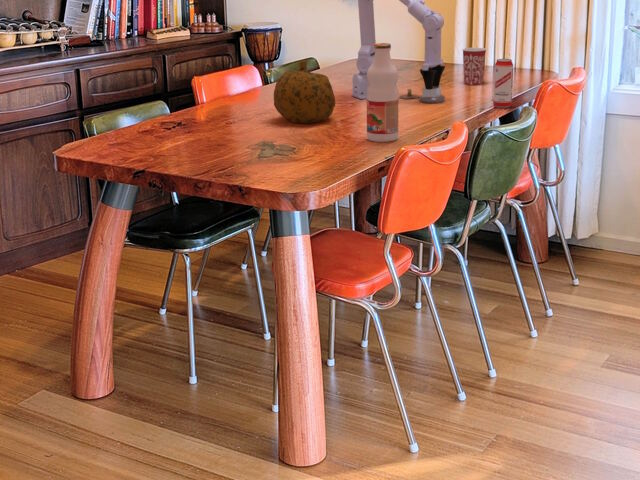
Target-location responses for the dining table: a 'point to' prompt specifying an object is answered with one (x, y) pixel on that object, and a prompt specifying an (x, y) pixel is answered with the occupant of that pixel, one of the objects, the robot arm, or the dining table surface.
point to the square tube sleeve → (431, 92)
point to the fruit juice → (382, 96)
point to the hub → (432, 99)
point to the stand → (409, 95)
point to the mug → (473, 65)
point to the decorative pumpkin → (304, 96)
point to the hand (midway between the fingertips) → (432, 87)
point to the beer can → (503, 83)
